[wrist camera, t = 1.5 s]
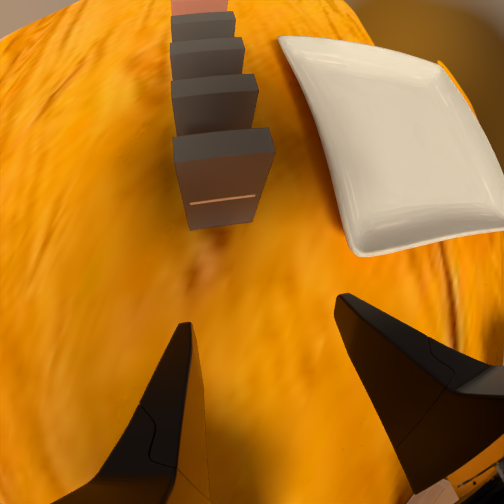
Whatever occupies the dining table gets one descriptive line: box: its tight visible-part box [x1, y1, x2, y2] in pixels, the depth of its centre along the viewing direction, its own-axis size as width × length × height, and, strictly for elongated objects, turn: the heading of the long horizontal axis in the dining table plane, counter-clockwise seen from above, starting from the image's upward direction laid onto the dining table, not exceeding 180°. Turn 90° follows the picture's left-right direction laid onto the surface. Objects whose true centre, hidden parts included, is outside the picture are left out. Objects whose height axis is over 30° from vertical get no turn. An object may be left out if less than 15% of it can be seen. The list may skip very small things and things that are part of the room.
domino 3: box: [170, 37, 245, 81], centre depth 21 cm, size 2×5×10 cm, turn 100°
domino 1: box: [171, 0, 228, 16], centre depth 23 cm, size 2×5×10 cm, turn 100°
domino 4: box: [171, 74, 259, 137], centre depth 20 cm, size 2×5×10 cm, turn 101°
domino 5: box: [173, 128, 275, 231], centre depth 19 cm, size 2×5×10 cm, turn 100°
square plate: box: [278, 35, 504, 257], centre depth 27 cm, size 27×27×4 cm
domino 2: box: [171, 11, 236, 43], centre depth 22 cm, size 2×5×10 cm, turn 101°
